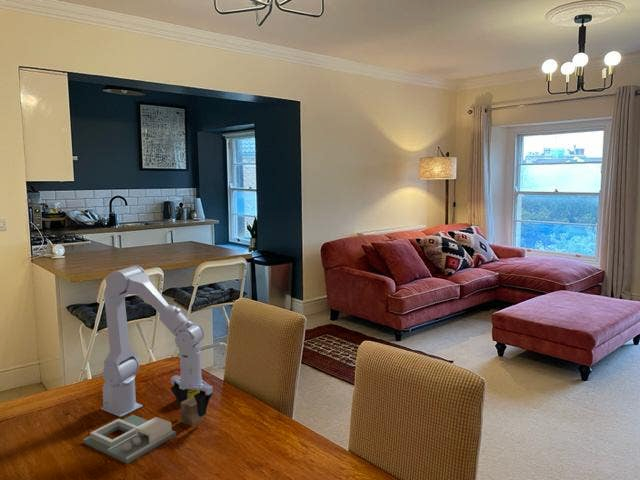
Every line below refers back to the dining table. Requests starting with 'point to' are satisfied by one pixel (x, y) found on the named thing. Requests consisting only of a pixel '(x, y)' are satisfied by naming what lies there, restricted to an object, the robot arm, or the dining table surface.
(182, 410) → the block
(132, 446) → the housing board
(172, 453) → the dining table surface
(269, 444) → the dining table surface
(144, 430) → the cover
